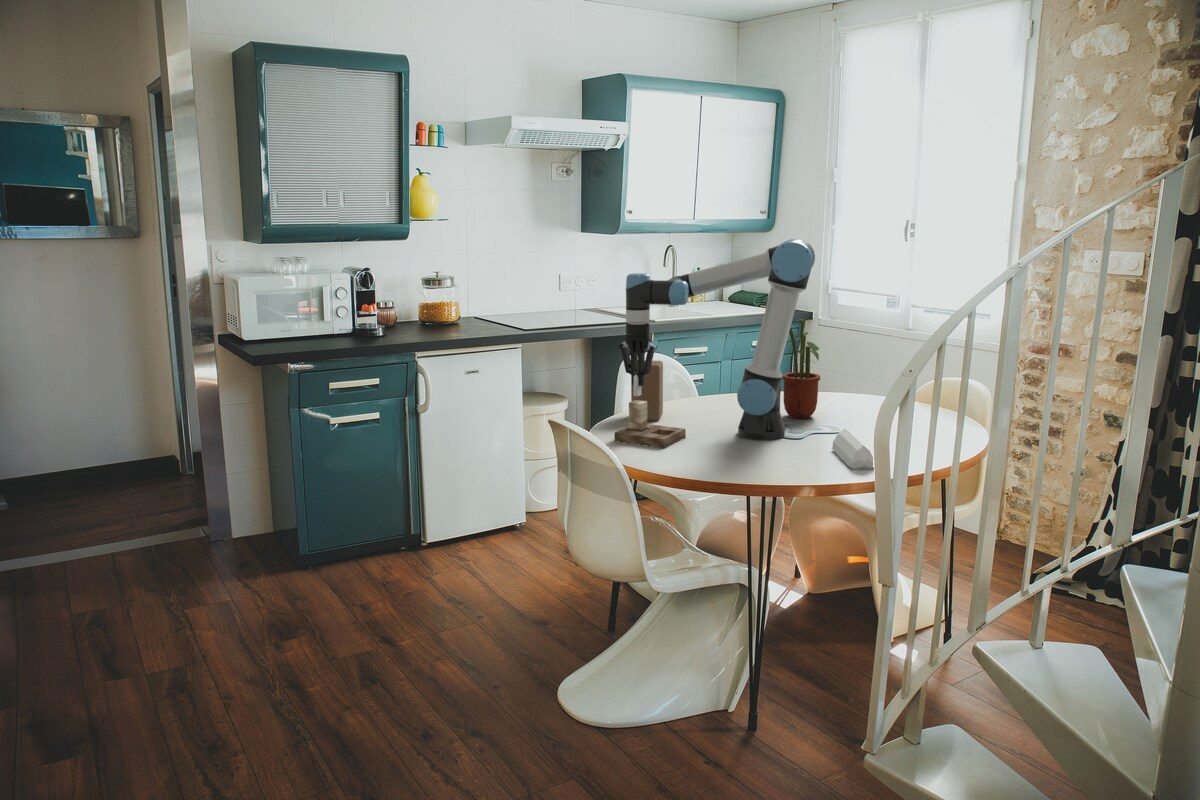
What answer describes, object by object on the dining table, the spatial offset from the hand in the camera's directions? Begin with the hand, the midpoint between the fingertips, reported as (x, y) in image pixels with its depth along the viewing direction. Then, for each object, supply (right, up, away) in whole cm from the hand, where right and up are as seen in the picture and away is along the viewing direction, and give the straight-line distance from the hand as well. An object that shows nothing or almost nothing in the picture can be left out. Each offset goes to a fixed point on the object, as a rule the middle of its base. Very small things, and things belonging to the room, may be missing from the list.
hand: (637, 395), depth 300 cm
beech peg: (0, -14, +3) cm, 14 cm away
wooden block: (+5, -8, +30) cm, 32 cm away
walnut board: (+4, -14, +1) cm, 15 cm away
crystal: (+63, -20, -24) cm, 70 cm away
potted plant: (+58, -7, +32) cm, 67 cm away
